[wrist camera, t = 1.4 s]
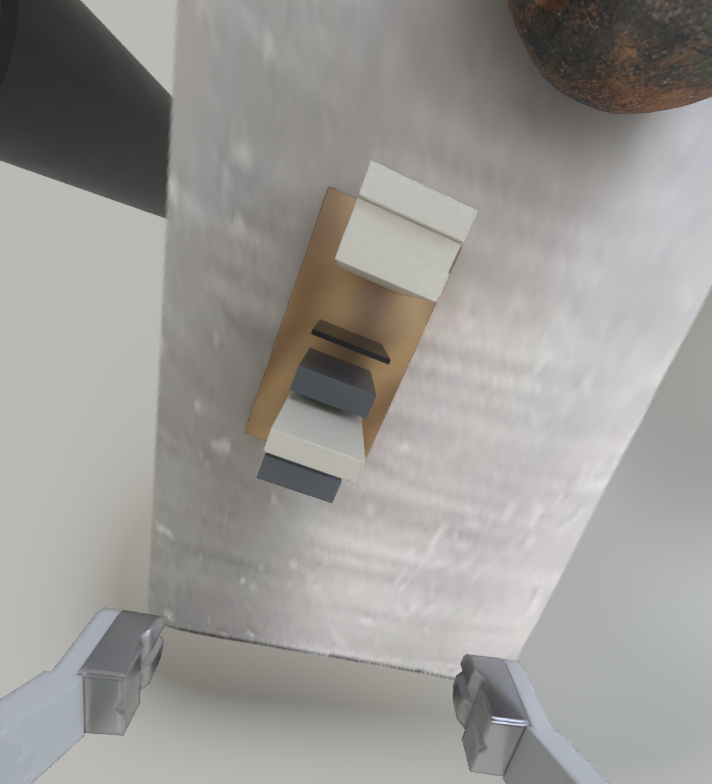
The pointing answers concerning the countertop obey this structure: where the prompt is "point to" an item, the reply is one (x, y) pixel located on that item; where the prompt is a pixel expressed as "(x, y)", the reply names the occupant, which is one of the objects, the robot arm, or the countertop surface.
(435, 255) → the cream books
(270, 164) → the countertop surface
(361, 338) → the thin black tile
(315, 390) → the grey books
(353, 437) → the thin cream book
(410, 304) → the book board
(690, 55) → the jug
